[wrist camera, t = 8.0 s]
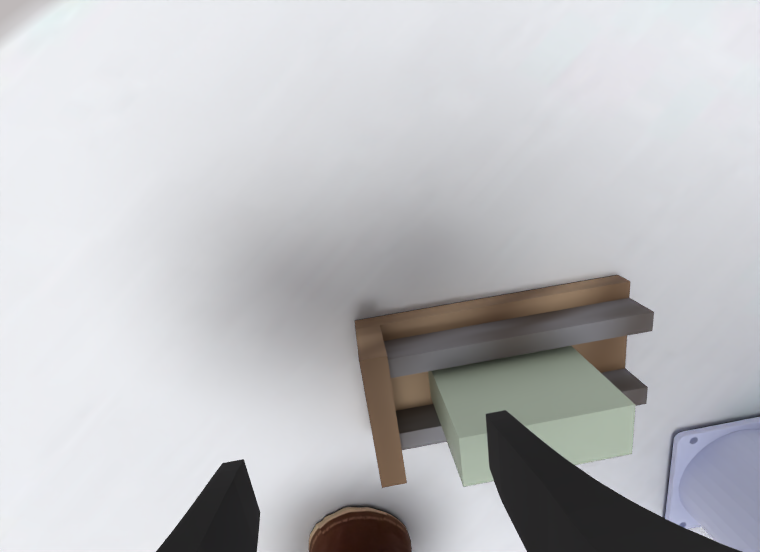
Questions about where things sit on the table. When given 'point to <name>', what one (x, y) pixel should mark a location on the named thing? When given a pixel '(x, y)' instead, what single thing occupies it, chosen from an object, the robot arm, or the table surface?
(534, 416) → the door panel
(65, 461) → the table surface
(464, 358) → the track sill
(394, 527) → the coffee cup
